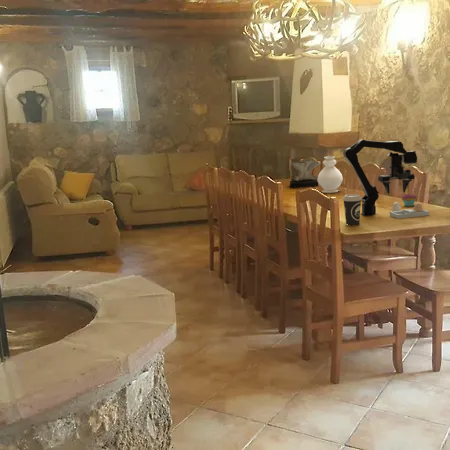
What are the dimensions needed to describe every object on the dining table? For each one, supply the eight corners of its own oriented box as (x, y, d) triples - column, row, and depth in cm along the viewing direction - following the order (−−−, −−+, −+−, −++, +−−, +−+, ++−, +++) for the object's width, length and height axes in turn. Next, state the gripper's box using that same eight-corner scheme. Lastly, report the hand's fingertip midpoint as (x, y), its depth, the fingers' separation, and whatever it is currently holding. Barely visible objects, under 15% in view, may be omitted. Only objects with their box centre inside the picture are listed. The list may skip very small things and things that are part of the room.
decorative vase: (312, 191, 390) (311, 157, 385) (333, 188, 397) (332, 155, 392) (327, 194, 374) (326, 158, 369) (348, 191, 381) (347, 156, 376)
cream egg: (394, 214, 291) (394, 203, 290) (390, 212, 296) (390, 201, 294) (402, 213, 292) (402, 202, 291) (398, 212, 296) (398, 201, 295)
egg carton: (397, 219, 277) (397, 213, 276) (389, 216, 285) (389, 210, 284) (429, 216, 280) (429, 209, 279) (421, 213, 288) (421, 207, 287)
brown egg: (416, 215, 280) (416, 204, 279) (411, 214, 285) (411, 202, 284) (424, 214, 281) (424, 203, 280) (419, 213, 286) (419, 202, 284)
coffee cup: (359, 222, 277) (359, 193, 274) (364, 225, 267) (364, 196, 264) (341, 223, 276) (340, 194, 273) (345, 227, 267) (345, 197, 264)
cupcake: (406, 207, 308) (407, 186, 305) (398, 205, 316) (398, 185, 314) (419, 205, 310) (420, 185, 308) (411, 203, 318) (411, 183, 316)
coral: (321, 184, 427) (320, 157, 423) (322, 187, 408) (322, 159, 403) (289, 185, 431) (288, 158, 426) (289, 189, 411) (288, 161, 407)
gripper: (387, 167, 279) (387, 196, 282) (420, 164, 282) (419, 193, 285) (377, 165, 290) (377, 193, 293) (409, 162, 293) (409, 191, 296)
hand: (396, 193), depth 292 cm, fingers open, 9 cm apart
